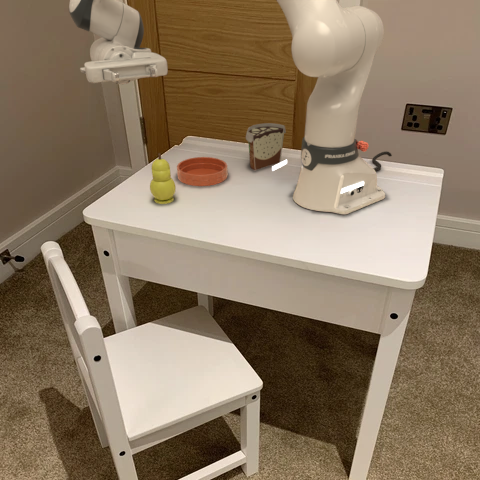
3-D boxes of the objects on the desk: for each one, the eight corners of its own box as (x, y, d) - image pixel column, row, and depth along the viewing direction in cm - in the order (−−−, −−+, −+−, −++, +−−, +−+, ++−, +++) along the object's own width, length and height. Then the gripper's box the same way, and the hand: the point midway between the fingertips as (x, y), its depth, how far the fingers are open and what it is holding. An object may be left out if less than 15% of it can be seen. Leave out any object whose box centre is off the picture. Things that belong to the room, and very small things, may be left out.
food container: (269, 155, 142) (270, 119, 135) (284, 162, 138) (286, 125, 132) (236, 166, 135) (236, 128, 129) (250, 172, 132) (251, 134, 125)
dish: (214, 164, 136) (214, 153, 134) (235, 181, 127) (235, 169, 125) (170, 173, 132) (169, 162, 130) (189, 190, 123) (188, 179, 121)
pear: (171, 193, 121) (167, 147, 114) (180, 202, 117) (176, 155, 110) (148, 198, 119) (142, 151, 112) (156, 207, 115) (151, 160, 108)
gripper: (75, 54, 120) (89, 65, 111) (154, 47, 128) (174, 56, 118) (80, 82, 124) (94, 94, 115) (157, 73, 132) (176, 85, 122)
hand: (135, 75), depth 117 cm, fingers open, 8 cm apart
